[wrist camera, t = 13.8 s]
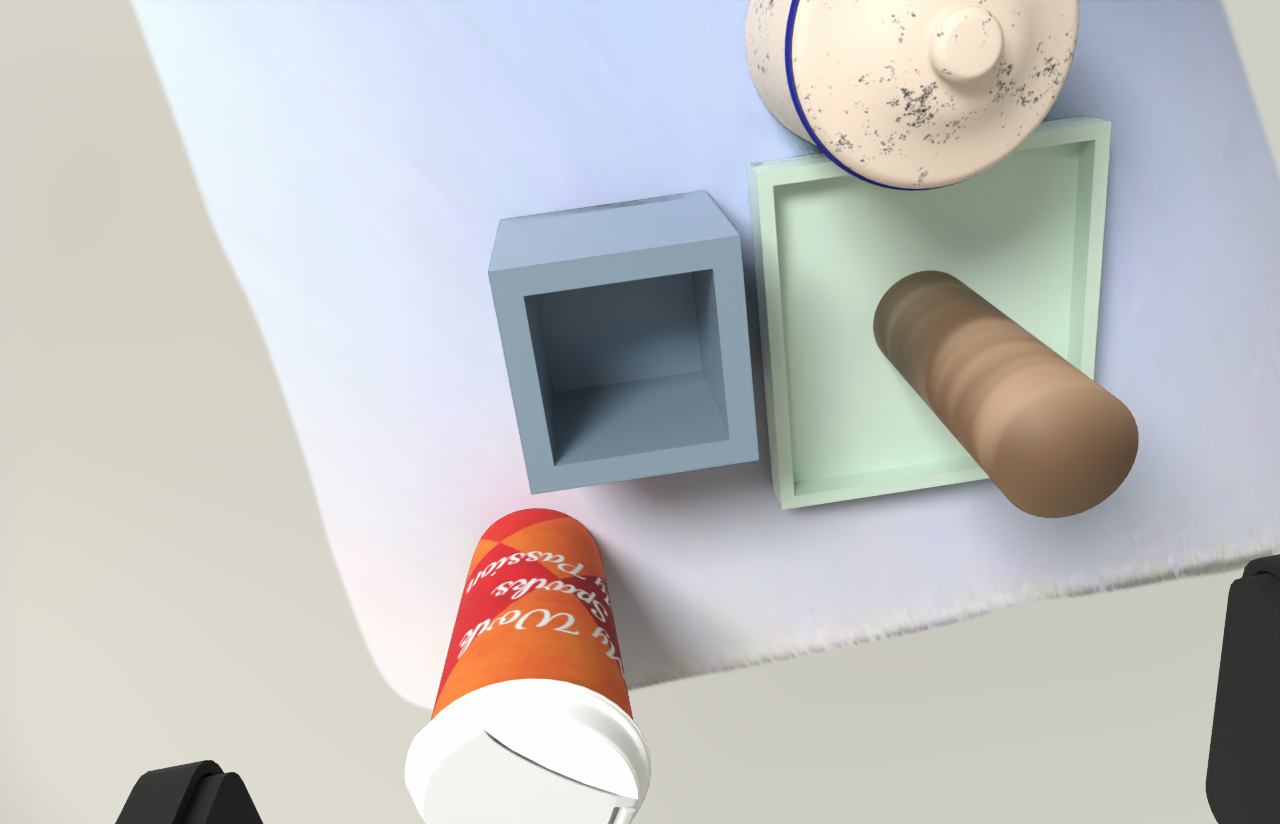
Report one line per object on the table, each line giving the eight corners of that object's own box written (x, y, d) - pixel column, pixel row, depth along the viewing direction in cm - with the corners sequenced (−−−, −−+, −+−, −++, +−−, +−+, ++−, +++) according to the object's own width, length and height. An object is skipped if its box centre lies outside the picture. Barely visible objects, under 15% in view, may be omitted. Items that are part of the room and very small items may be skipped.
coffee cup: (647, 510, 45) (689, 737, 31) (593, 650, 48) (610, 914, 34) (471, 465, 43) (433, 683, 30) (426, 613, 46) (373, 875, 32)
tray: (747, 164, 39) (756, 172, 37) (1085, 115, 39) (1111, 121, 37) (772, 488, 45) (782, 510, 43) (1065, 444, 45) (1087, 463, 44)
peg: (871, 279, 40) (997, 401, 29) (974, 263, 40) (1143, 378, 29) (874, 375, 42) (996, 527, 30) (973, 359, 42) (1133, 506, 30)
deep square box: (499, 219, 39) (487, 271, 32) (704, 190, 39) (739, 235, 32) (534, 408, 42) (531, 494, 35) (723, 380, 43) (758, 460, 35)
